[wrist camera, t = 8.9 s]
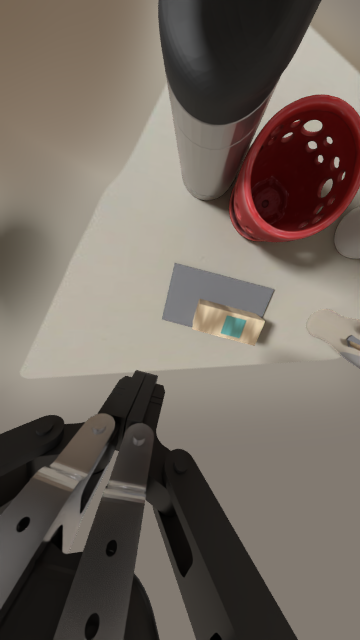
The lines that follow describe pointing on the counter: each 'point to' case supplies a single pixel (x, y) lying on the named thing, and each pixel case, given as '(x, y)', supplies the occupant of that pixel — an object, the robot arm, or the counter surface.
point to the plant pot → (298, 172)
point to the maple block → (227, 322)
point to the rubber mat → (210, 294)
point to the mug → (349, 235)
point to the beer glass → (337, 333)
